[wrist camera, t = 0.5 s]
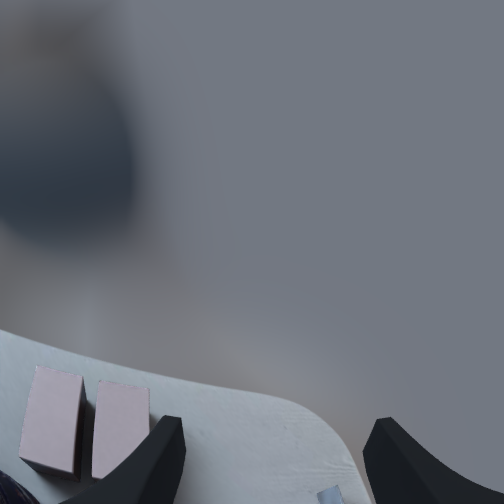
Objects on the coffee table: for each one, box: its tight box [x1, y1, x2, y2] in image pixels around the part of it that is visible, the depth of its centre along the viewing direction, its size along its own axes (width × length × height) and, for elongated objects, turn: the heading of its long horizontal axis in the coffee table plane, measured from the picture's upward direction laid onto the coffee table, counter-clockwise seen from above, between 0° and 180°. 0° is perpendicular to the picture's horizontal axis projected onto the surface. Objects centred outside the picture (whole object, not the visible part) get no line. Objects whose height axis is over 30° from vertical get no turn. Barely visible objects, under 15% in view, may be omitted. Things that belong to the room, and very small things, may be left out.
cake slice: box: [92, 380, 149, 483], centre depth 20 cm, size 9×4×5 cm, turn 11°
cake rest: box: [19, 365, 87, 482], centre depth 17 cm, size 9×4×5 cm, turn 11°
